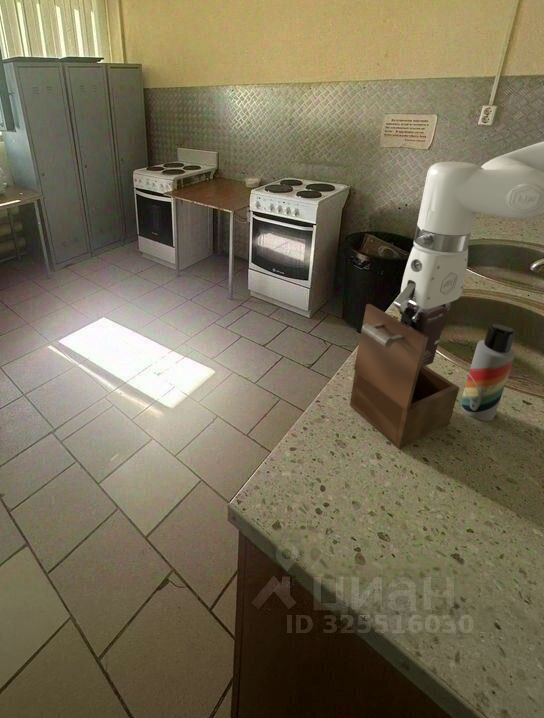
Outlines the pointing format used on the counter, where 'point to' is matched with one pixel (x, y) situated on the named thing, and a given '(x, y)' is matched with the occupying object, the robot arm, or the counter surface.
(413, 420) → the chest
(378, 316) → the lid
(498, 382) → the lotion bottle
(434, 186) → the robot arm
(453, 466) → the counter surface
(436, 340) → the box
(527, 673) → the counter surface
